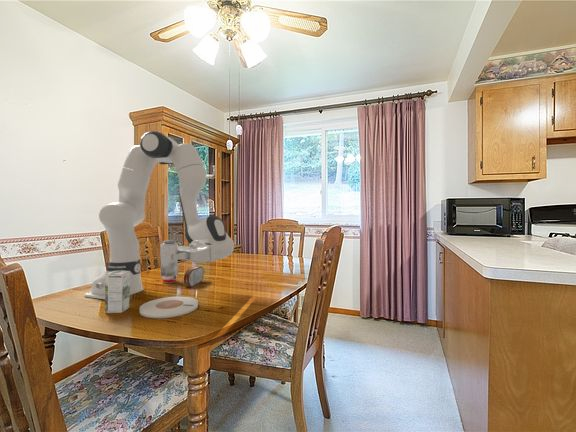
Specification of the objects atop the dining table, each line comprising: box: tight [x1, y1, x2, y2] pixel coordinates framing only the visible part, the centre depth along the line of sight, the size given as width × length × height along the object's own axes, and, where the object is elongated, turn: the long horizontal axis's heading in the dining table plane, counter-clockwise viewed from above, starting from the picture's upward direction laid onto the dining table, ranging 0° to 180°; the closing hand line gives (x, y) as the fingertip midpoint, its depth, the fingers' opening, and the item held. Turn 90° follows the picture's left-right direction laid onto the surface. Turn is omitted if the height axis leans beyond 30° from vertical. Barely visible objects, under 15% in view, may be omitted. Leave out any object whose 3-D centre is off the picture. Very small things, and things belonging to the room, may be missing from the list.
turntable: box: [139, 296, 199, 319], centre depth 105 cm, size 19×19×2 cm
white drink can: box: [159, 239, 179, 277], centre depth 105 cm, size 6×6×12 cm
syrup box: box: [104, 270, 131, 314], centre depth 104 cm, size 6×6×14 cm
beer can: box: [162, 275, 177, 285], centre depth 147 cm, size 6×6×16 cm
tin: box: [183, 265, 205, 288], centre depth 143 cm, size 15×3×8 cm, turn 169°
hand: (166, 256), depth 104 cm, fingers closed on white drink can, 5 cm apart
